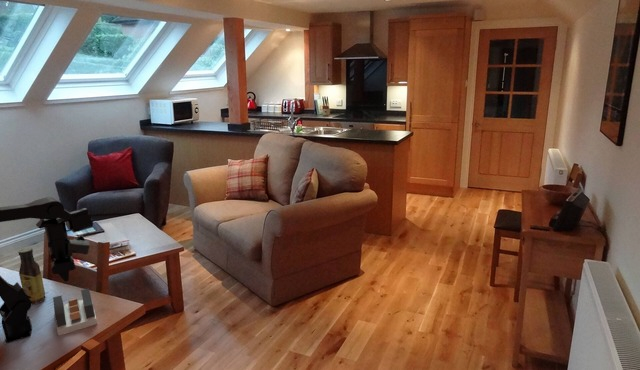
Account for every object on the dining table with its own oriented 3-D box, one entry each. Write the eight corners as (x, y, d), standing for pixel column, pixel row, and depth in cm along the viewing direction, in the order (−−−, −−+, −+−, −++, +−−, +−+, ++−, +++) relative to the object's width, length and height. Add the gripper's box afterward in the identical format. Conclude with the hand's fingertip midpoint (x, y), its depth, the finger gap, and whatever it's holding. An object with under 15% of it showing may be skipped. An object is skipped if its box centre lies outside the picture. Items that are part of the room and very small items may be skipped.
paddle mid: (70, 313, 145) (69, 307, 145) (70, 312, 146) (69, 306, 146) (79, 311, 147) (78, 305, 146) (79, 310, 148) (78, 304, 147)
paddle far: (69, 307, 149) (68, 301, 149) (69, 306, 150) (68, 300, 150) (78, 304, 150) (77, 299, 150) (78, 303, 151) (76, 298, 151)
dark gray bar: (86, 318, 143) (84, 306, 142) (83, 301, 153) (80, 290, 151) (95, 316, 144) (92, 304, 143) (91, 299, 154) (88, 288, 153)
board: (97, 323, 144) (96, 318, 143) (58, 335, 138) (57, 329, 138) (92, 302, 156) (91, 297, 155) (56, 312, 150) (54, 307, 150)
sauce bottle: (21, 302, 157) (8, 251, 151) (39, 294, 162) (27, 244, 156) (33, 307, 154) (20, 254, 148) (50, 298, 159) (39, 247, 153)
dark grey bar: (57, 327, 139) (54, 315, 138) (55, 309, 149) (53, 297, 147) (66, 324, 140) (63, 312, 139) (63, 306, 150) (61, 295, 149)
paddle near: (71, 320, 142) (70, 314, 141) (71, 319, 143) (70, 313, 142) (80, 317, 143) (79, 311, 143) (80, 316, 144) (79, 310, 144)
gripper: (88, 240, 138) (97, 285, 143) (82, 222, 153) (90, 263, 158) (47, 249, 133) (57, 296, 137) (44, 229, 148) (54, 272, 152)
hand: (66, 280), depth 146 cm, fingers closed
